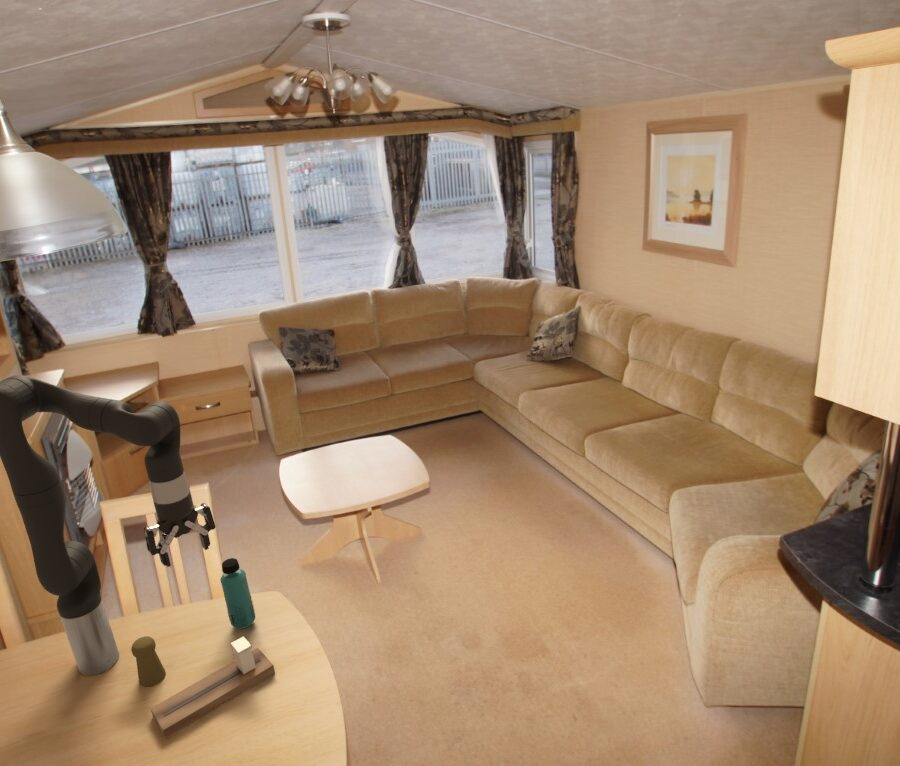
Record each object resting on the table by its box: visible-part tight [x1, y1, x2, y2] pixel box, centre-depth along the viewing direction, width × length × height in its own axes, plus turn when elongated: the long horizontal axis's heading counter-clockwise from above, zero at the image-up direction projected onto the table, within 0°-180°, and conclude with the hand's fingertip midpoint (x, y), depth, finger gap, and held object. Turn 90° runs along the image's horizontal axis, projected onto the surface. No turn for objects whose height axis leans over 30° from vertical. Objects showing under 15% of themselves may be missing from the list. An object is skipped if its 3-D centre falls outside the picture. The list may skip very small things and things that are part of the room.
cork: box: [130, 635, 167, 688], centre depth 162 cm, size 6×6×11 cm
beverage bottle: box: [220, 557, 257, 630], centre depth 175 cm, size 6×7×20 cm
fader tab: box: [230, 636, 256, 674], centre depth 160 cm, size 4×3×7 cm
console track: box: [150, 647, 276, 740], centre depth 157 cm, size 8×26×3 cm, turn 131°
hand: (186, 556), depth 152 cm, fingers open, 8 cm apart
